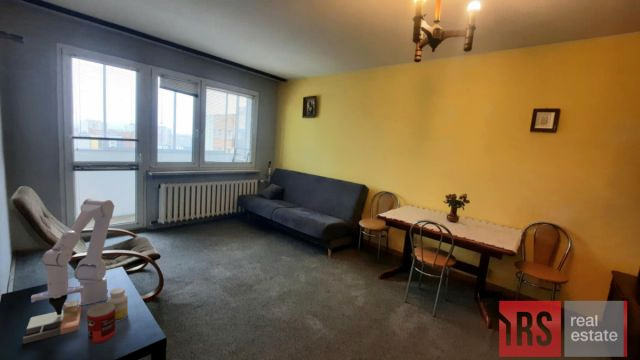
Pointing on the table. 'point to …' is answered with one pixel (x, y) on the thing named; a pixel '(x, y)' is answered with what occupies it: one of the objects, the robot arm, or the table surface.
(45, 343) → the table surface
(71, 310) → the birch block
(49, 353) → the table surface
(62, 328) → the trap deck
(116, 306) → the pill bottle
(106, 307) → the canned food
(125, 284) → the table surface
